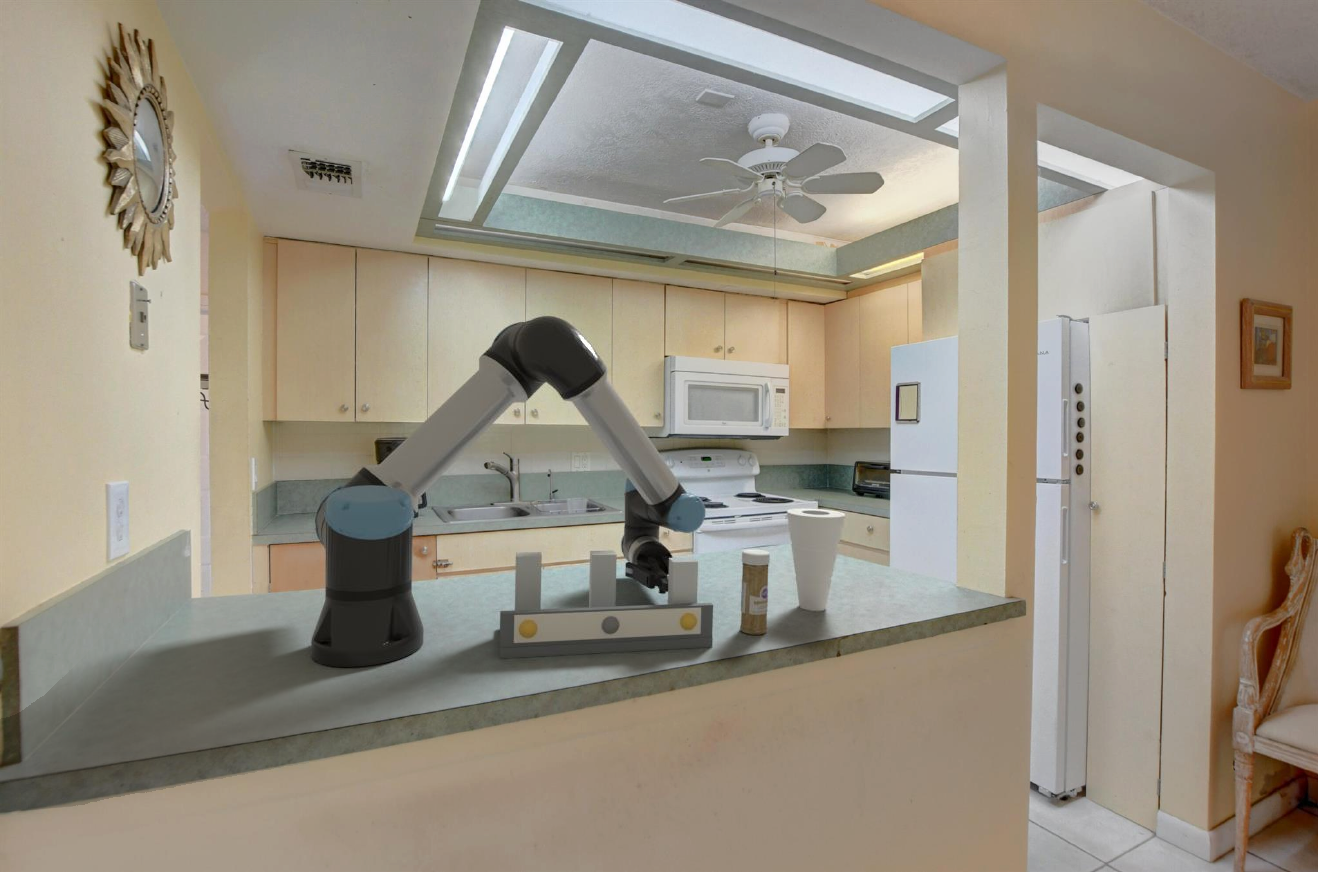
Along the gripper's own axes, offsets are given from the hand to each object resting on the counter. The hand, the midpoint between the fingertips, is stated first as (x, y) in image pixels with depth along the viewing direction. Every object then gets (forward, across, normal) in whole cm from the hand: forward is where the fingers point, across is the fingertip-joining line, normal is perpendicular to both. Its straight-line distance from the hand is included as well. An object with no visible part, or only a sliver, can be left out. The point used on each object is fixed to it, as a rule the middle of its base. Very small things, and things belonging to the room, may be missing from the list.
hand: (680, 593), depth 102 cm
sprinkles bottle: (0, -13, -7) cm, 15 cm away
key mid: (-4, +12, -5) cm, 14 cm away
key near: (-4, +24, -5) cm, 25 cm away
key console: (-1, +12, -7) cm, 14 cm away
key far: (+2, 0, -5) cm, 5 cm away
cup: (-11, -29, -7) cm, 32 cm away
